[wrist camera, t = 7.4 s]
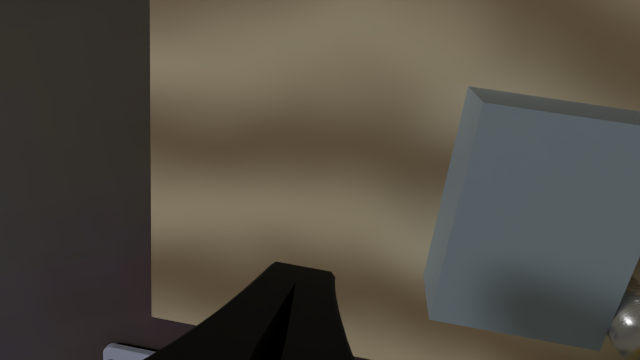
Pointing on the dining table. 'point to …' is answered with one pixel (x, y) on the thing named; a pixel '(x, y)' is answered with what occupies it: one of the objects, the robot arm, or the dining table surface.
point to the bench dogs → (627, 323)
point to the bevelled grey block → (537, 218)
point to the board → (349, 145)
